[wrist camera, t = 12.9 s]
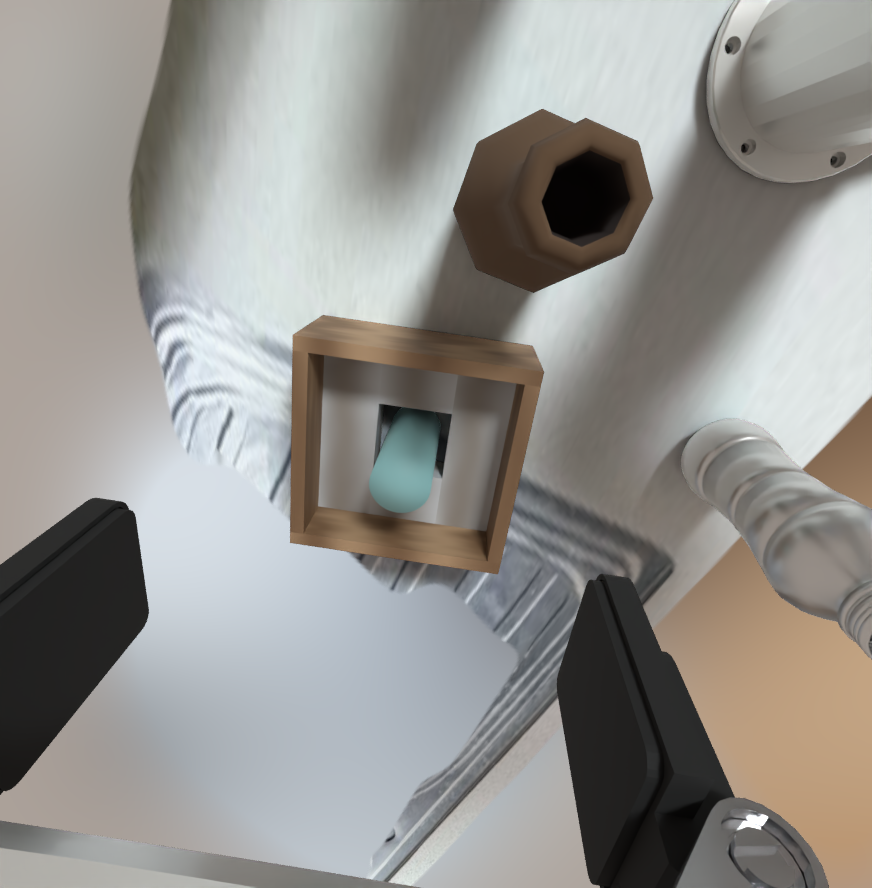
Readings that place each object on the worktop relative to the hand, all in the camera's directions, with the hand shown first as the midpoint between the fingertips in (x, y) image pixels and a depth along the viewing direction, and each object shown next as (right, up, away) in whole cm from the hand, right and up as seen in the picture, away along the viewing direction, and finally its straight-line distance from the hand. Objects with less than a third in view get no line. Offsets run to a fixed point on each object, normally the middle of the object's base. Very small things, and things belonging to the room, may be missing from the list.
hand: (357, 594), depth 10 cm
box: (0, +5, +31) cm, 32 cm away
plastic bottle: (+24, +3, +30) cm, 39 cm away
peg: (0, +5, +31) cm, 32 cm away
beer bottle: (+7, +19, +24) cm, 32 cm away
